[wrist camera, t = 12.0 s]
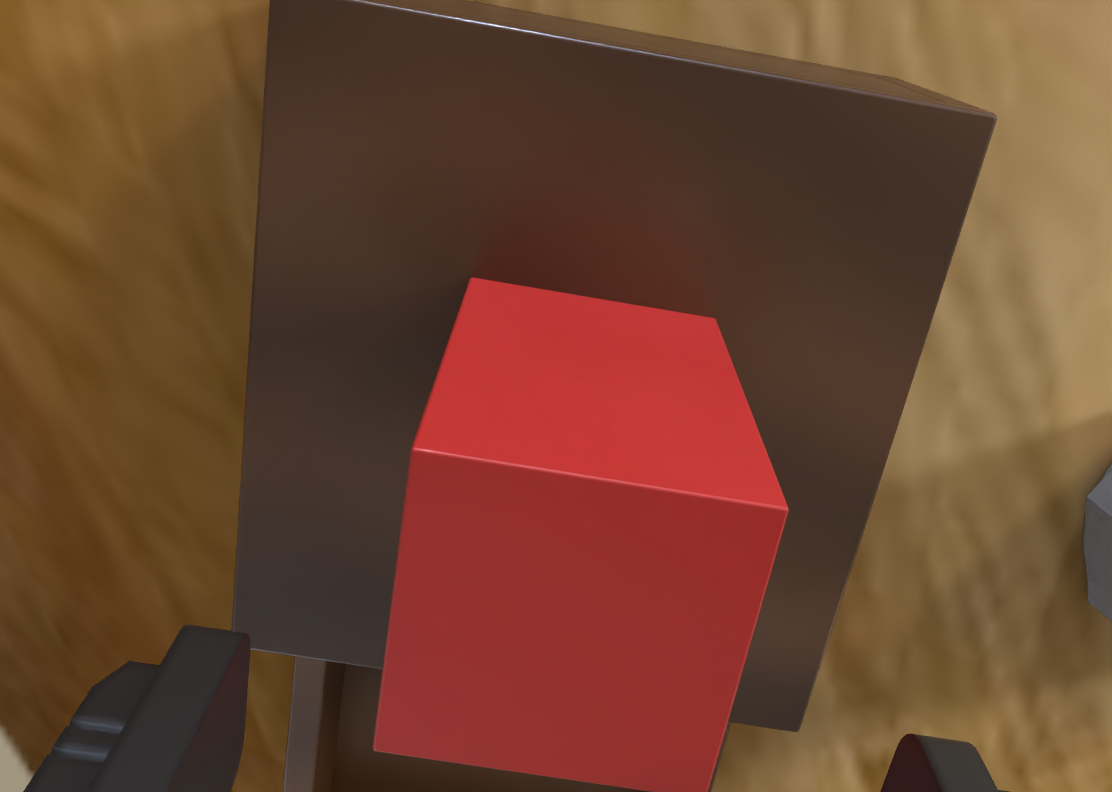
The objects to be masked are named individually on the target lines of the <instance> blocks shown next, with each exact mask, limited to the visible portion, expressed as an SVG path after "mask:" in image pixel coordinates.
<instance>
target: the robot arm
mask: <svg viewBox="0 0 1112 792" xmlns="http://www.w3.org/2000/svg"><path fill="white" fill-rule="evenodd" d="M249 660H250V636H249V634H248V633H241V632H234V631H228V630H221V629H214V628H208V627H201V626H194V625H185V626H184V627H183V628H182V629H181V630H180V632H179V633H178V635H177V637H176V638H175V640H174V642H173V644H172V645H171V647H170V649H169V650H168V652H167V654H166V656H165V657H164V659H163V661H162V662H161V664H160V665H154V664H147V663H140V662H133V661H129V662H127V663H126V664H124V665H123V666H122V667H120V668H119V669H117V670H116V671H114V672H113V673H112V674H110V675H109V676H107V677H106V678H105V679H103V680H102V681H100V682H99V683H97V684H96V685H95V686H93V687H92V688H91V690H90V691H89V693H88V695H87V696H86V698H85V699H84V701H83V702H82V704H81V705H80V707H79V708H78V710H77V711H76V713H75V714H74V716H73V717H72V719H71V722H70V725H69V727H66V728H65V729H64V731H63V732H62V734H61V735H60V737H59V738H58V740H57V741H56V743H55V744H54V746H53V748H52V752H51V755H47V757H46V758H45V760H44V761H43V763H42V764H41V766H40V767H39V769H38V770H37V772H36V773H35V775H34V776H33V778H32V779H31V781H30V782H29V784H28V785H27V787H26V788H25V790H24V791H23V792H231V789H232V786H233V783H234V780H235V777H236V773H237V770H238V766H239V761H240V757H241V752H242V746H243V739H244V729H245V715H246V701H247V687H248V673H249ZM881 792H1009V791H1002V790H998V789H997V787H996V786H995V784H994V782H993V780H992V778H991V776H990V774H989V772H988V770H987V768H986V766H985V764H984V763H983V761H982V759H981V757H980V755H979V753H978V751H977V750H976V748H975V747H974V746H973V745H972V744H970V743H968V742H963V741H956V740H949V739H943V738H936V737H929V736H922V735H916V734H907V735H905V736H904V737H903V738H902V739H901V741H900V742H899V744H898V746H897V749H896V751H895V754H894V757H893V759H892V762H891V765H890V767H889V770H888V773H887V776H886V778H885V781H884V784H883V786H882V789H881Z"/></svg>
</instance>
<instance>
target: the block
mask: <svg viewBox="0 0 1112 792" xmlns="http://www.w3.org/2000/svg"><path fill="white" fill-rule="evenodd" d="M788 511H789V510H788V506H787V503H786V501H785V498H784V496H783V493H782V490H781V488H780V485H779V483H778V480H777V477H776V475H775V472H774V470H773V467H772V464H771V462H770V459H769V457H768V454H767V451H766V449H765V446H764V444H763V441H762V438H761V436H760V433H759V431H758V428H757V425H756V423H755V420H754V418H753V415H752V413H751V410H750V407H749V405H748V402H747V400H746V397H745V394H744V392H743V389H742V387H741V384H740V381H739V379H738V376H737V374H736V371H735V368H734V366H733V363H732V361H731V358H730V355H729V353H728V350H727V348H726V345H725V342H724V340H723V337H722V335H721V332H720V329H719V327H718V324H717V322H716V319H715V318H710V317H704V316H698V315H693V314H687V313H681V312H675V311H669V310H663V309H657V308H651V307H645V306H639V305H633V304H627V303H621V302H615V301H609V300H603V299H598V298H592V297H586V296H580V295H574V294H568V293H562V292H556V291H550V290H544V289H538V288H532V287H526V286H520V285H514V284H508V283H502V282H497V281H491V280H485V279H479V278H473V277H472V278H470V280H469V283H468V285H467V288H466V291H465V294H464V297H463V300H462V303H461V306H460V309H459V312H458V314H457V317H456V320H455V323H454V326H453V329H452V332H451V335H450V338H449V341H448V343H447V346H446V349H445V352H444V355H443V358H442V361H441V364H440V367H439V369H438V372H437V375H436V378H435V381H434V384H433V387H432V390H431V393H430V396H429V398H428V401H427V404H426V407H425V410H424V413H423V416H422V419H421V422H420V425H419V427H418V430H417V433H416V436H415V439H414V442H413V445H412V448H411V452H410V460H409V467H408V475H407V483H406V491H405V499H404V506H403V514H402V522H401V530H400V538H399V545H398V553H397V561H396V569H395V577H394V585H393V592H392V600H391V608H390V616H389V624H388V631H387V639H386V647H385V655H384V663H383V670H382V678H381V686H380V694H379V702H378V710H377V717H376V725H375V733H374V741H373V749H374V751H378V752H385V753H391V754H398V755H405V756H412V757H419V758H425V759H432V760H439V761H446V762H453V763H459V764H466V765H473V766H480V767H487V768H493V769H500V770H507V771H514V772H521V773H527V774H534V775H541V776H548V777H555V778H561V779H568V780H575V781H582V782H589V783H595V784H602V785H609V786H616V787H623V788H629V789H636V790H643V791H650V792H708V788H709V785H710V782H711V778H712V775H713V771H714V768H715V764H716V761H717V757H718V754H719V750H720V747H721V743H722V740H723V736H724V733H725V730H726V726H727V723H728V719H729V716H730V712H731V709H732V705H733V702H734V698H735V695H736V691H737V688H738V684H739V681H740V677H741V674H742V671H743V667H744V664H745V660H746V657H747V653H748V650H749V646H750V643H751V639H752V636H753V632H754V629H755V625H756V622H757V619H758V615H759V612H760V608H761V605H762V601H763V598H764V594H765V591H766V587H767V584H768V580H769V577H770V573H771V570H772V567H773V563H774V560H775V556H776V553H777V549H778V546H779V542H780V539H781V535H782V532H783V528H784V525H785V521H786V518H787V515H788Z"/></svg>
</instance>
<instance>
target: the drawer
mask: <svg viewBox="0 0 1112 792" xmlns="http://www.w3.org/2000/svg"><path fill="white" fill-rule="evenodd" d="M382 670H383V669H376V668H370V667H363V666H356V665H350V664H343V663H337V662H330V661H323V660H317V659H310V658H303V657H297V656H295V661H294V672H293V683H292V695H291V706H290V717H289V728H288V739H287V750H286V762H285V773H284V784H283V792H650V791H643V790H636V789H629V788H623V787H616V786H609V785H602V784H595V783H589V782H582V781H575V780H568V779H561V778H555V777H548V776H541V775H534V774H527V773H521V772H514V771H507V770H500V769H493V768H487V767H480V766H473V765H466V764H459V763H453V762H446V761H439V760H432V759H425V758H419V757H412V756H405V755H398V754H391V753H385V752H378V751H374V749H373V741H374V733H375V725H376V717H377V710H378V702H379V694H380V686H381V678H382ZM730 725H731V722H728V723H727V726H726V730H725V733H724V736H723V740H722V743H721V747H720V750H719V754H718V757H717V761H716V764H715V768H714V771H713V775H712V778H711V782H710V785H709V788H708V792H711V790H712V787H713V783H714V780H715V776H716V773H717V770H718V766H719V763H720V759H721V756H722V752H723V749H724V746H725V742H726V739H727V735H728V732H729V728H730Z"/></svg>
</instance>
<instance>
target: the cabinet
mask: <svg viewBox="0 0 1112 792" xmlns="http://www.w3.org/2000/svg"><path fill="white" fill-rule="evenodd" d="M996 120H997V116H996V115H995V114H994V113H991V112H988V111H986V110H983V109H980V108H977V107H975V106H972V105H969V104H966V103H964V102H961V101H958V100H955V99H953V98H950V97H947V96H944V95H941V94H939V93H936V92H933V91H930V90H928V89H925V88H922V87H919V86H917V85H914V84H911V83H908V82H905V81H903V80H900V79H897V78H891V77H886V76H880V75H875V74H869V73H864V72H858V71H853V70H847V69H842V68H836V67H831V66H825V65H820V64H814V63H809V62H803V61H798V60H792V59H787V58H781V57H776V56H770V55H765V54H759V53H754V52H748V51H743V50H737V49H732V48H726V47H721V46H715V45H710V44H704V43H699V42H693V41H687V40H682V39H676V38H671V37H665V36H660V35H654V34H649V33H643V32H638V31H632V30H627V29H621V28H616V27H610V26H605V25H599V24H594V23H588V22H583V21H577V20H572V19H566V18H561V17H555V16H550V15H544V14H539V13H533V12H528V11H522V10H517V9H511V8H506V7H500V6H495V5H489V4H483V3H478V2H472V1H467V0H270V5H269V21H268V37H267V54H266V70H265V87H264V103H263V120H262V136H261V153H260V169H259V186H258V202H257V219H256V235H255V252H254V268H253V285H252V301H251V317H250V334H249V350H248V367H247V383H246V400H245V416H244V433H243V449H242V466H241V482H240V499H239V515H238V532H237V548H236V564H235V581H234V597H233V614H232V630H231V631H234V632H241V633H248V634H249V636H250V649H251V650H257V651H264V652H270V653H277V654H284V655H290V656H297V657H303V658H310V659H317V660H323V661H330V662H337V663H343V664H350V665H356V666H363V667H370V668H376V669H383V663H384V655H385V647H386V639H387V631H388V624H389V616H390V608H391V600H392V592H393V585H394V577H395V569H396V561H397V553H398V545H399V538H400V530H401V522H402V514H403V506H404V499H405V491H406V483H407V475H408V467H409V460H410V452H411V448H412V445H413V442H414V439H415V436H416V433H417V430H418V427H419V425H420V422H421V419H422V416H423V413H424V410H425V407H426V404H427V401H428V398H429V396H430V393H431V390H432V387H433V384H434V381H435V378H436V375H437V372H438V369H439V367H440V364H441V361H442V358H443V355H444V352H445V349H446V346H447V343H448V341H449V338H450V335H451V332H452V329H453V326H454V323H455V320H456V317H457V314H458V312H459V309H460V306H461V303H462V300H463V297H464V294H465V291H466V288H467V285H468V283H469V280H470V278H472V277H473V278H479V279H485V280H491V281H497V282H502V283H508V284H514V285H520V286H526V287H532V288H538V289H544V290H550V291H556V292H562V293H568V294H574V295H580V296H586V297H592V298H598V299H603V300H609V301H615V302H621V303H627V304H633V305H639V306H645V307H651V308H657V309H663V310H669V311H675V312H681V313H687V314H693V315H698V316H704V317H710V318H715V319H716V322H717V324H718V327H719V329H720V332H721V335H722V337H723V340H724V342H725V345H726V348H727V350H728V353H729V355H730V358H731V361H732V363H733V366H734V368H735V371H736V374H737V376H738V379H739V381H740V384H741V387H742V389H743V392H744V394H745V397H746V400H747V402H748V405H749V407H750V410H751V413H752V415H753V418H754V420H755V423H756V425H757V428H758V431H759V433H760V436H761V438H762V441H763V444H764V446H765V449H766V451H767V454H768V457H769V459H770V462H771V464H772V467H773V470H774V472H775V475H776V477H777V480H778V483H779V485H780V488H781V490H782V493H783V496H784V498H785V501H786V503H787V506H788V510H789V511H788V515H787V518H786V521H785V525H784V528H783V532H782V535H781V539H780V542H779V546H778V549H777V553H776V556H775V560H774V563H773V567H772V570H771V573H770V577H769V580H768V584H767V587H766V591H765V594H764V598H763V601H762V605H761V608H760V612H759V615H758V619H757V622H756V625H755V629H754V632H753V636H752V639H751V643H750V646H749V650H748V653H747V657H746V660H745V664H744V667H743V671H742V674H741V677H740V681H739V684H738V688H737V691H736V695H735V698H734V702H733V705H732V709H731V712H730V716H729V719H728V722H733V723H739V724H746V725H753V726H759V727H766V728H772V729H779V730H786V731H792V732H798V731H799V729H800V726H801V723H802V720H803V717H804V714H805V711H806V708H807V705H808V702H809V698H810V695H811V692H812V689H813V686H814V683H815V680H816V677H817V674H818V671H819V668H820V664H821V661H822V658H823V655H824V652H825V649H826V646H827V643H828V640H829V637H830V634H831V630H832V627H833V624H834V621H835V618H836V615H837V612H838V609H839V606H840V603H841V600H842V596H843V593H844V590H845V587H846V584H847V581H848V578H849V575H850V572H851V569H852V566H853V562H854V559H855V556H856V553H857V550H858V547H859V544H860V541H861V538H862V535H863V532H864V528H865V525H866V522H867V519H868V516H869V513H870V510H871V507H872V504H873V501H874V498H875V494H876V491H877V488H878V485H879V482H880V479H881V476H882V473H883V470H884V467H885V463H886V460H887V457H888V454H889V451H890V448H891V445H892V442H893V439H894V436H895V433H896V429H897V426H898V423H899V420H900V417H901V414H902V411H903V408H904V405H905V402H906V399H907V395H908V392H909V389H910V386H911V383H912V380H913V377H914V374H915V371H916V368H917V365H918V361H919V358H920V355H921V352H922V349H923V346H924V343H925V340H926V337H927V334H928V331H929V327H930V324H931V321H932V318H933V315H934V312H935V309H936V306H937V303H938V300H939V297H940V293H941V290H942V287H943V284H944V281H945V278H946V275H947V272H948V269H949V266H950V263H951V259H952V256H953V253H954V250H955V247H956V244H957V241H958V238H959V235H960V232H961V228H962V225H963V222H964V219H965V216H966V213H967V210H968V207H969V204H970V201H971V198H972V194H973V191H974V188H975V185H976V182H977V179H978V176H979V173H980V170H981V167H982V164H983V160H984V157H985V154H986V151H987V148H988V145H989V142H990V139H991V136H992V133H993V130H994V126H995V123H996Z"/></svg>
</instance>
